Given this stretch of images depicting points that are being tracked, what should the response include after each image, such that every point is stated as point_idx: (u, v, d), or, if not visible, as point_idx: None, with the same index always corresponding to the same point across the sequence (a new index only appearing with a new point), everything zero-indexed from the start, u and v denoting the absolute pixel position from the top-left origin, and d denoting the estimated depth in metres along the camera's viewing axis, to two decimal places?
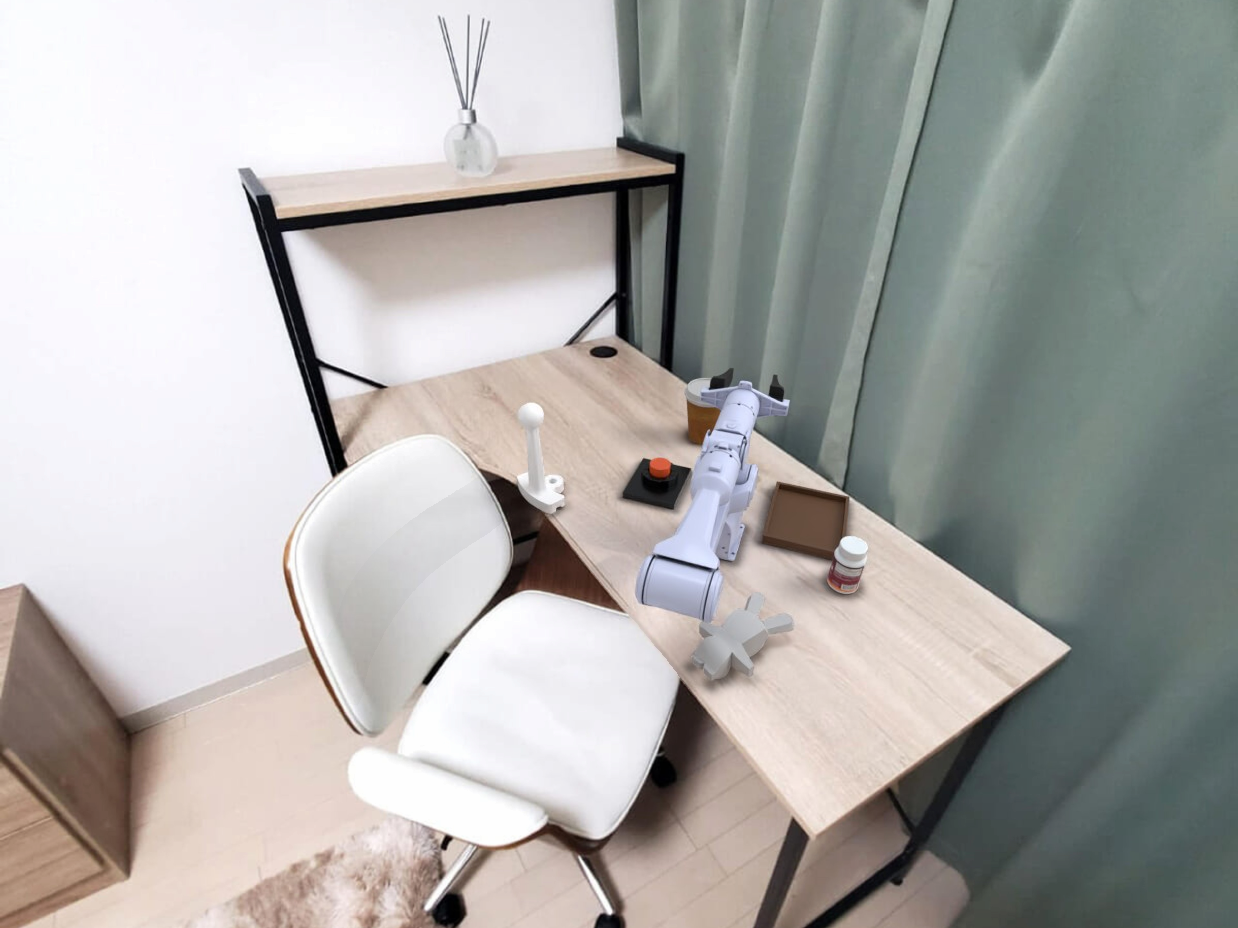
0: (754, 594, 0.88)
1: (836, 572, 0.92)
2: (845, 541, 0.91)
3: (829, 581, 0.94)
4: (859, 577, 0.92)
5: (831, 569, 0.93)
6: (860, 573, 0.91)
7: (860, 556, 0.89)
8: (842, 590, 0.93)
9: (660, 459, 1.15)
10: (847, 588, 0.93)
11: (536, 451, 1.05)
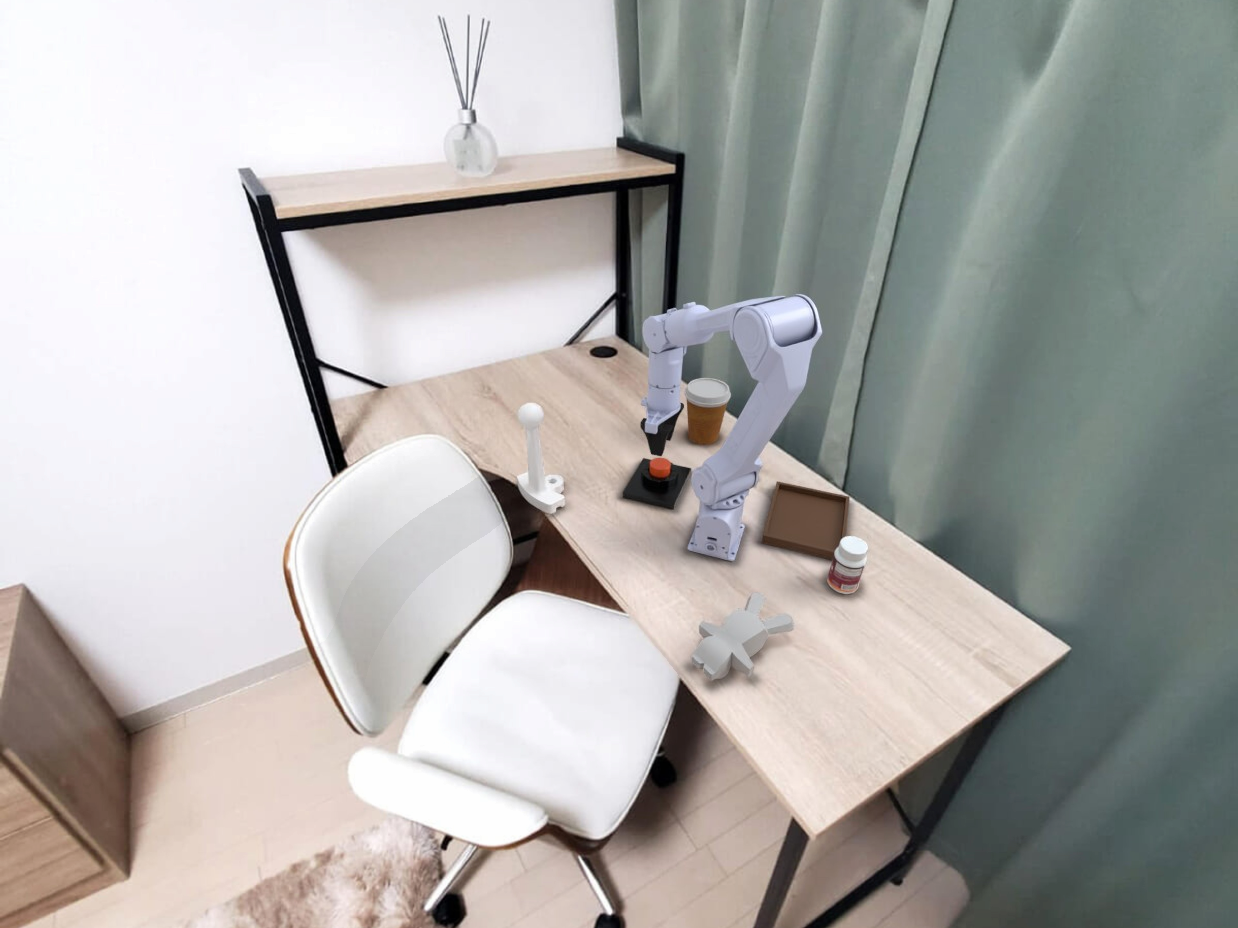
0: (754, 594, 0.88)
1: (836, 572, 0.92)
2: (845, 541, 0.91)
3: (829, 581, 0.94)
4: (859, 577, 0.92)
5: (831, 569, 0.93)
6: (860, 573, 0.91)
7: (860, 556, 0.89)
8: (842, 590, 0.93)
9: (660, 459, 1.15)
10: (847, 588, 0.93)
11: (536, 451, 1.05)
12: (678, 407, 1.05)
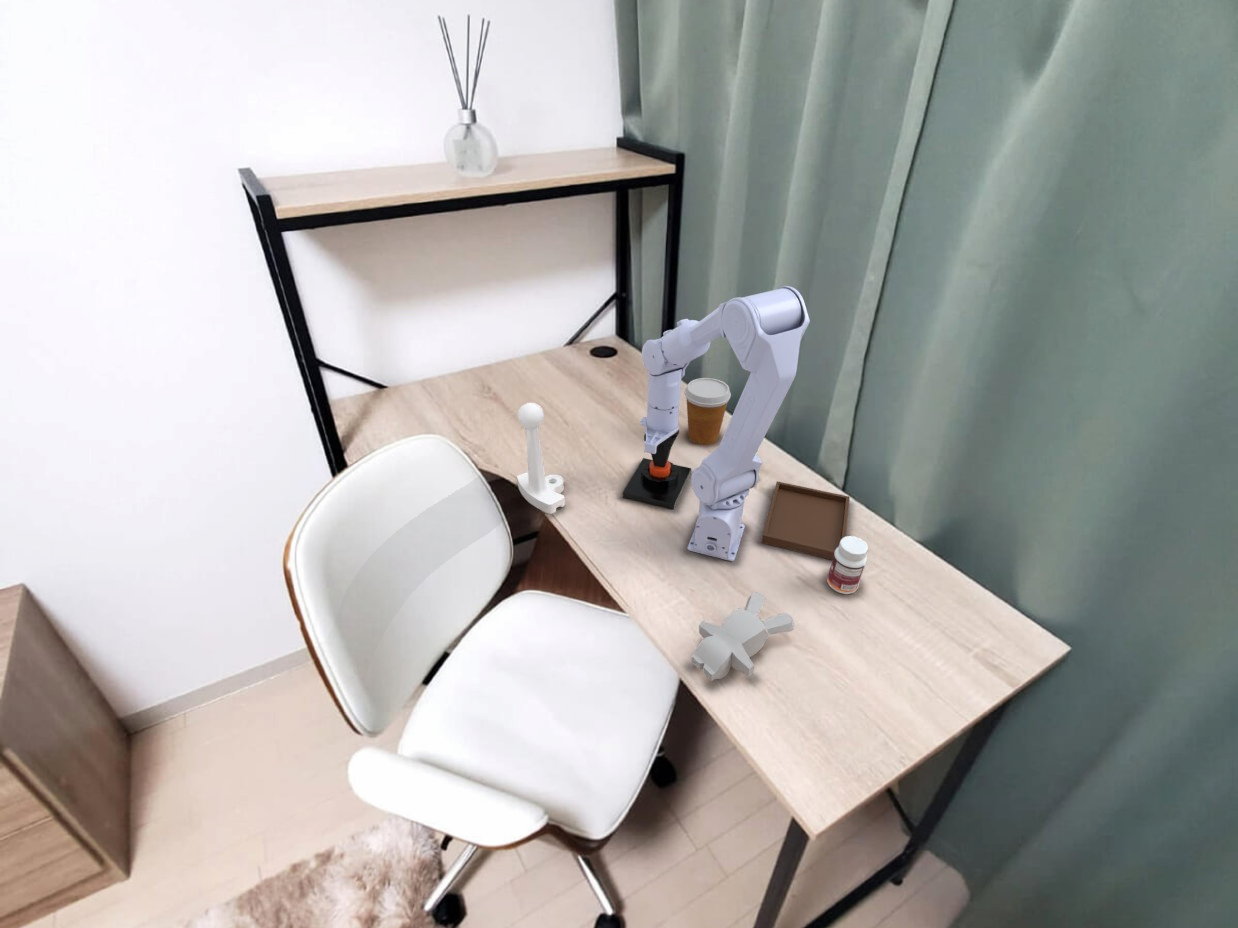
0: (754, 594, 0.88)
1: (836, 572, 0.92)
2: (845, 541, 0.91)
3: (829, 581, 0.94)
4: (859, 577, 0.92)
5: (831, 569, 0.93)
6: (860, 573, 0.91)
7: (860, 556, 0.89)
8: (842, 590, 0.93)
9: None
10: (847, 588, 0.93)
11: (536, 451, 1.05)
12: (677, 427, 1.08)
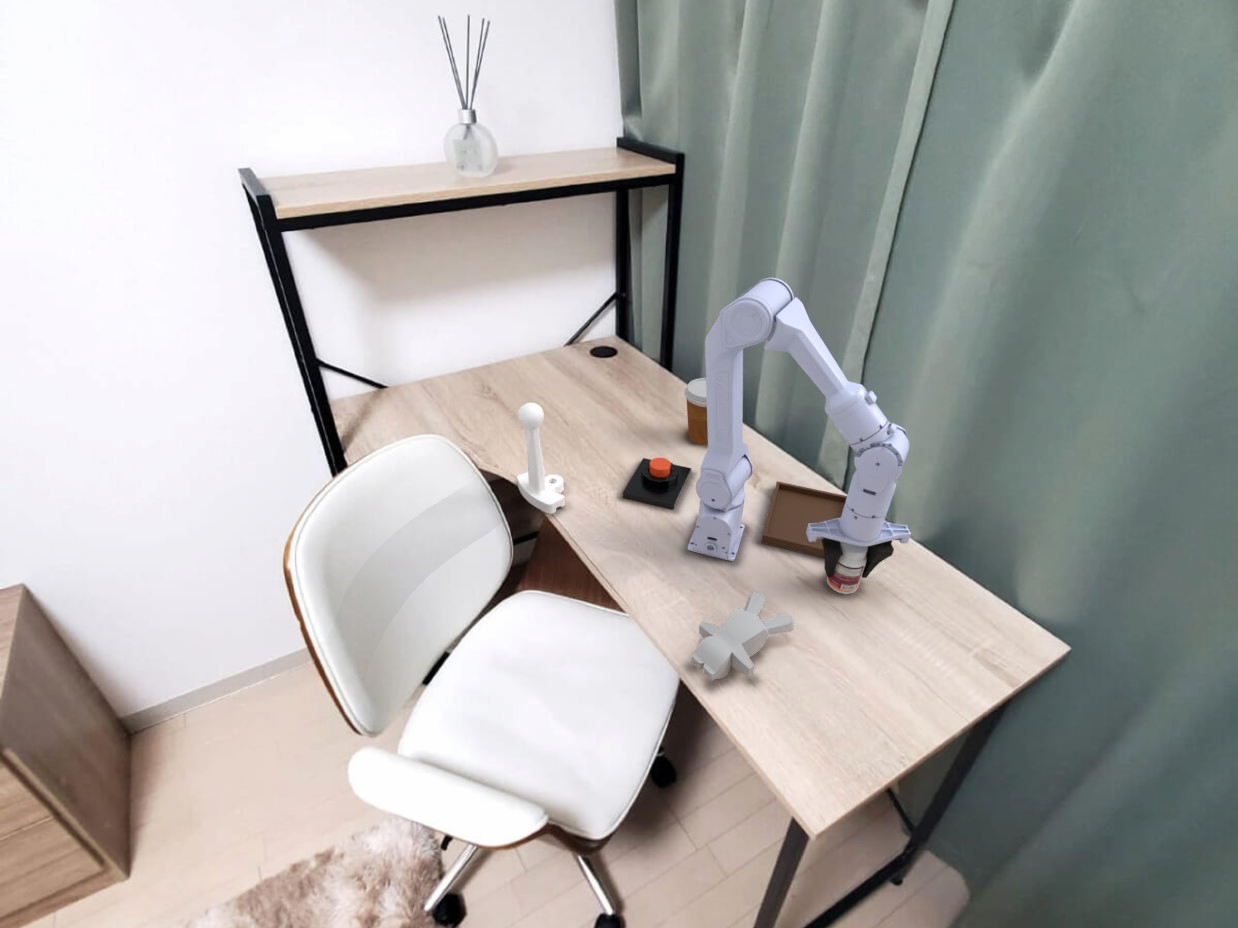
0: (754, 594, 0.88)
1: (835, 572, 0.92)
2: None
3: (829, 581, 0.94)
4: (859, 577, 0.92)
5: None
6: (860, 573, 0.91)
7: (860, 556, 0.89)
8: (842, 590, 0.93)
9: (660, 459, 1.15)
10: (847, 588, 0.93)
11: (536, 451, 1.05)
12: (862, 541, 0.86)
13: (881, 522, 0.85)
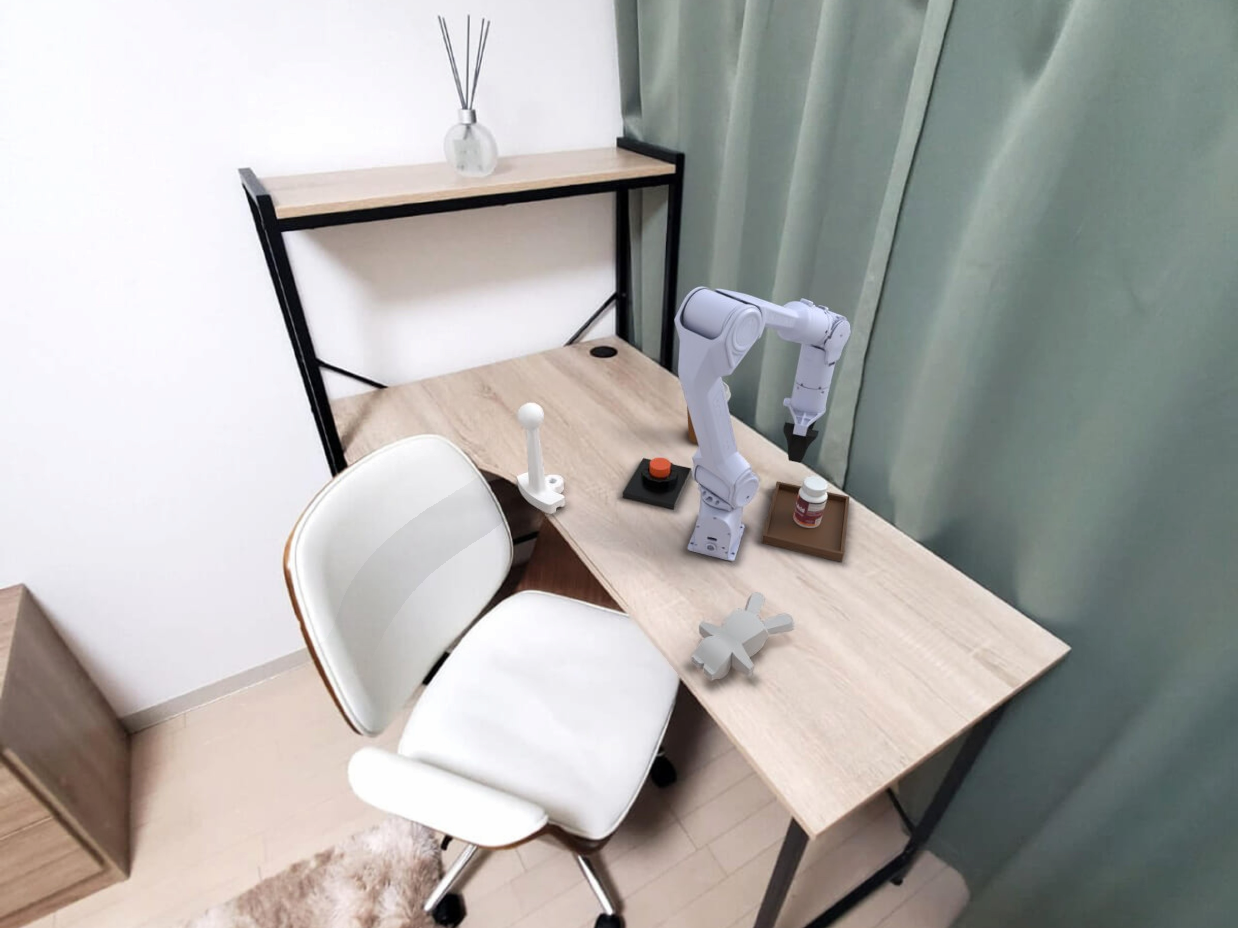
0: (754, 594, 0.88)
1: (809, 512, 1.03)
2: (808, 484, 1.02)
3: (802, 523, 1.05)
4: None
5: (802, 512, 1.04)
6: None
7: (826, 488, 1.01)
8: (815, 524, 1.05)
9: (660, 459, 1.15)
10: (819, 520, 1.05)
11: (536, 451, 1.05)
12: (824, 408, 1.01)
13: None
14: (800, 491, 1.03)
